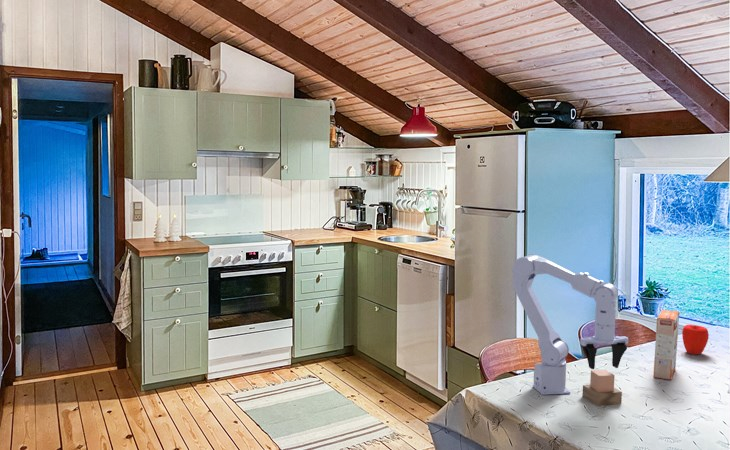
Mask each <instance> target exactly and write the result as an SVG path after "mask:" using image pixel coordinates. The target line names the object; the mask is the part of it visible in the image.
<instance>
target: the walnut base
mask: <svg viewBox="0 0 730 450" xmlns="http://www.w3.org/2000/svg"><path fill="white" fill-rule="evenodd" d="M622 394H623V392H622V390H619V389H618V388H615V387H614V391H610V392H597V391H596V390H595V389H593V388H592V387H591V386H590V384H582V396H581V397H582V398H584V399H586V400H587V401H588V402H590V403H592V404H594V405H595V406H597V407H604V406H613V405H622V401H623V400H622V399H623V397H622Z"/></svg>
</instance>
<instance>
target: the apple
mask: <svg viewBox="0 0 730 450" xmlns="http://www.w3.org/2000/svg"><path fill="white" fill-rule="evenodd" d="M681 333H682V334H681V335H682V342H683V346H684V349H685V351H686V353H688V354H691V355H695V354H699V355H700V354H703V352H704V350H705V348H706V346H707V344H708V341H709V338H710V337H709V336H710V335H709V331H708V329H707V328H706V327H704V326H701V325H697V324H696V325H695V324H686V325H684V326H683V327H682V330H681Z"/></svg>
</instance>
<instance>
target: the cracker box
mask: <svg viewBox="0 0 730 450" xmlns="http://www.w3.org/2000/svg"><path fill="white" fill-rule="evenodd" d="M679 319H680V312H679V311H677V310H667V309H662V310H661V311H660V312H659V314H658V316H657V317H656V328H655V346H654V361H653V378H658V379H663V380H667V381H671V380H672V378H673V376H674V373H675V371H676V363H677V352H678V351H677V350H678V337H679V336H678V335H679V323H680V322H679V321H680V320H679Z"/></svg>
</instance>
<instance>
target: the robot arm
mask: <svg viewBox="0 0 730 450" xmlns="http://www.w3.org/2000/svg"><path fill="white" fill-rule="evenodd" d="M511 271H512V273H513V275H512V282H513V283H512V287H513V290H514V292H515V294H516V296H517V298H518V300H519V302H520V304H521V306H522V308H523V310H524V312H525V314H526V315H527V318H528V319H529V322H530V324H531V326H532V327H533V330H534V331H535V333H536V336H537V337H538V339H537V340H538V341H537V346H538V348H539V350H540V352H539V353H540V358H541V360H542V361H541V362H539V363H535V364H534V368H533V384H532V388H534V389H535V390H536V391H538V392H539V394H541V395H543V396H544V395H563V394H565V395H566V394H571V393H572V392H571V391H570V389H568V388H566V383H567V382H566V380H567V375H566V374H567V360H566V357H567V356H568V354H569V351H570V348H569V345H568V344H567V342H566V341H565V340H563V339H562V337H561V336H560V334H559V333H558V332H557V331H555V330H554V328H553V326H552V324H551V322H550V321H549V318H548V317H547V314H546V313H545V311H544V308H543V307H542V304H541V302H540V301H539V299H538V296H537V295H536V292H535V291H534V289H533V287H532V285H533V282H534V279H535V278H536V276H537V275H543V274H547V275H549V276H552V277H554V278H556V279H559V280H561V281H564V282H566V283H568V284H570V285H571V289H573V290H574V291H577V292H578V293H581V294H582V295H585V296H587V297H589V298H591V299H593V300H594V302H595V312H594V313H595V316H594V317H595V318H594V335H593V336H592V335H591V336H587V337H581V338H580V340H579V341H580V342H579V345H581V347H582V349H583V351H584V353H585V356H586V359H587V364H588V368H589V369H590V370H595V367H596V363H595V362H596V356H597V352H598V348H596V347H595V346H596V345H599V346H602V345H610V346H611V350H612V351H611V353H612V359H611V360H612V361H611V364H612V367H614V368H615V369H618V368H619V366H620V362H621V360H622V357H623V355H624V354H625V352H626V351H627V349H628V346H627V345H629V337H627V336H625V335H624V336H623V335H620V336H617V335H616V317H617V315H616V314H617V313H616V303H617V302H616V300H617V298H618V296H619V291H618V288H617V287H616V286H615V285H614V284H612V283H611V282H605V281H604V280H602V279H600V280H599V279H596V278H594V277H592V276H590V273H589V272H586V271H585V272H584V273H583V272H578V273H574V272H572V271H571V270H568V269H567V268H564V267H563V266H560V265H558V264H557V263H555V262H553V261H551V260H549V259H547V258H545V257H543V256H540V255H537V254H536V253H531V254H530V253H529V254H527V255H526V256H523V257H522V256H521V257H519V258H517V259H516V260H515V261H514V263H513V266H512V268H511Z"/></svg>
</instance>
